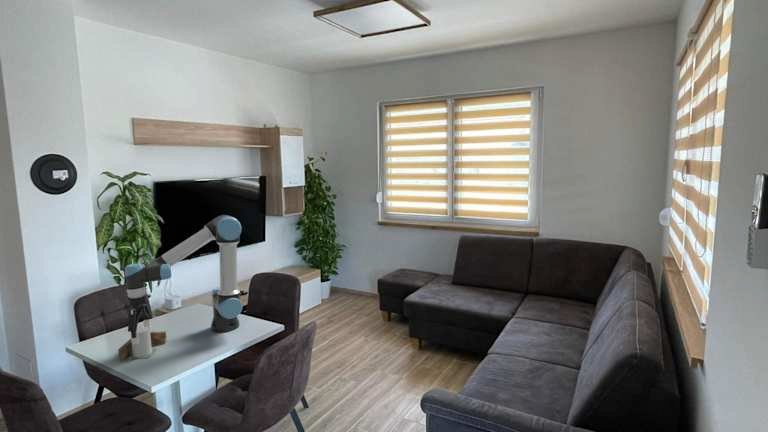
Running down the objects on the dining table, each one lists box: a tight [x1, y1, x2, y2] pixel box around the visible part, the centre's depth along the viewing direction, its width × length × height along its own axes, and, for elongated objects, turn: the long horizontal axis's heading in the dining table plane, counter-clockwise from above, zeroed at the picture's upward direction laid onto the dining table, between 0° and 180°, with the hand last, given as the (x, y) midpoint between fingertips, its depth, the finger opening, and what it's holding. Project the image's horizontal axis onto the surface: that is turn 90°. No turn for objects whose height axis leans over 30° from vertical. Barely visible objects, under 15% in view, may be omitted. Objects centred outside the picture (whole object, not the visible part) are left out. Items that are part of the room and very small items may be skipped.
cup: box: [130, 326, 153, 357], centre depth 206 cm, size 8×8×12 cm
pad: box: [126, 348, 158, 360], centre depth 207 cm, size 10×10×1 cm
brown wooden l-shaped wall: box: [117, 330, 168, 362], centre depth 210 cm, size 14×20×6 cm
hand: (142, 337), depth 206 cm, fingers open, 13 cm apart
